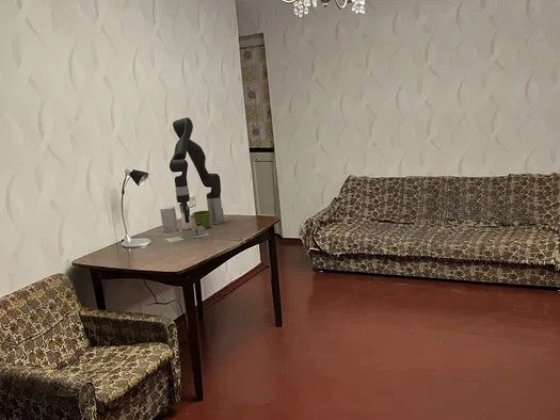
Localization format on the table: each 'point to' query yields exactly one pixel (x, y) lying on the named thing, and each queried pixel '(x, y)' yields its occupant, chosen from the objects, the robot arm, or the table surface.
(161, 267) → the table surface
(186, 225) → the cartridge
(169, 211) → the skincare box
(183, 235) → the housing
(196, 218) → the plant pot
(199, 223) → the plunger
